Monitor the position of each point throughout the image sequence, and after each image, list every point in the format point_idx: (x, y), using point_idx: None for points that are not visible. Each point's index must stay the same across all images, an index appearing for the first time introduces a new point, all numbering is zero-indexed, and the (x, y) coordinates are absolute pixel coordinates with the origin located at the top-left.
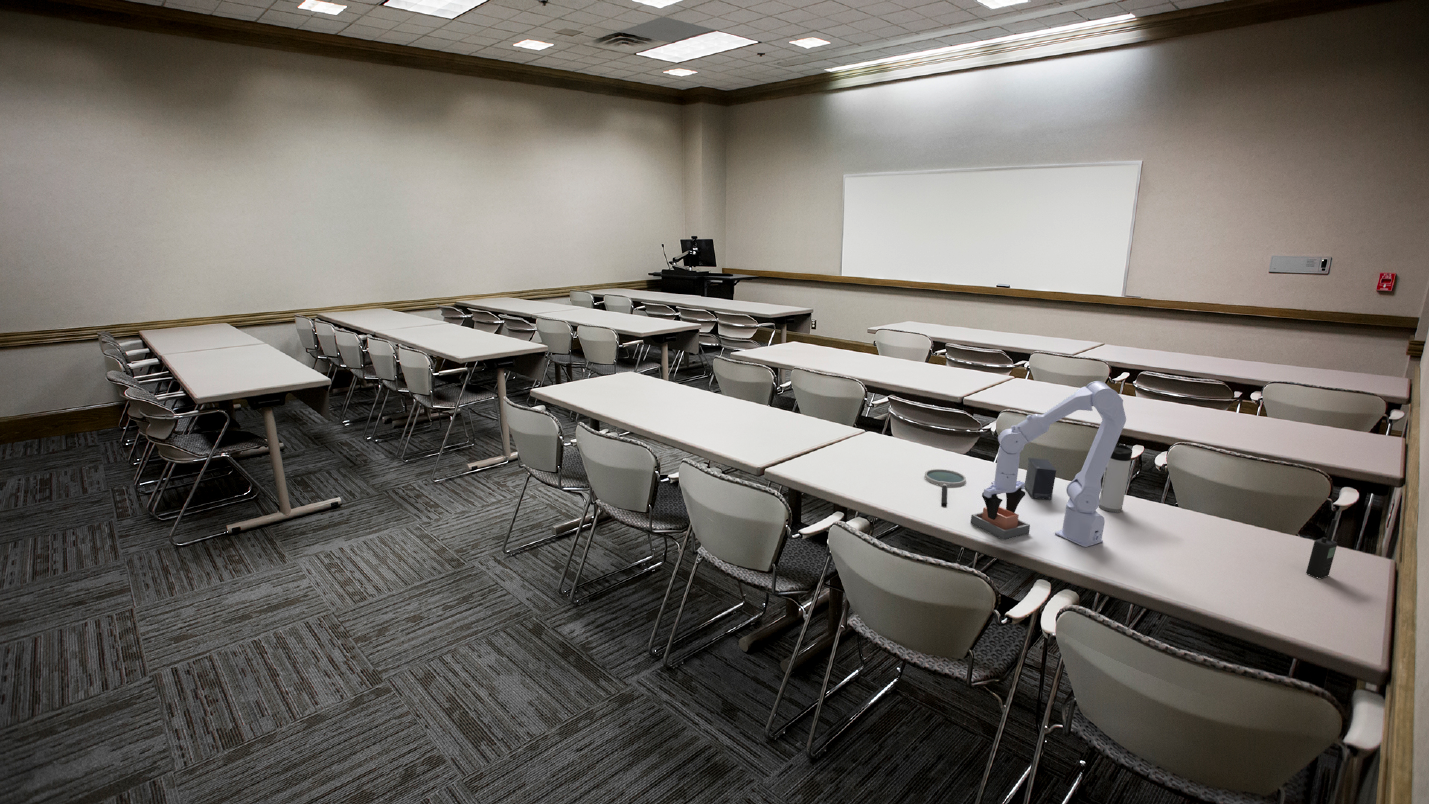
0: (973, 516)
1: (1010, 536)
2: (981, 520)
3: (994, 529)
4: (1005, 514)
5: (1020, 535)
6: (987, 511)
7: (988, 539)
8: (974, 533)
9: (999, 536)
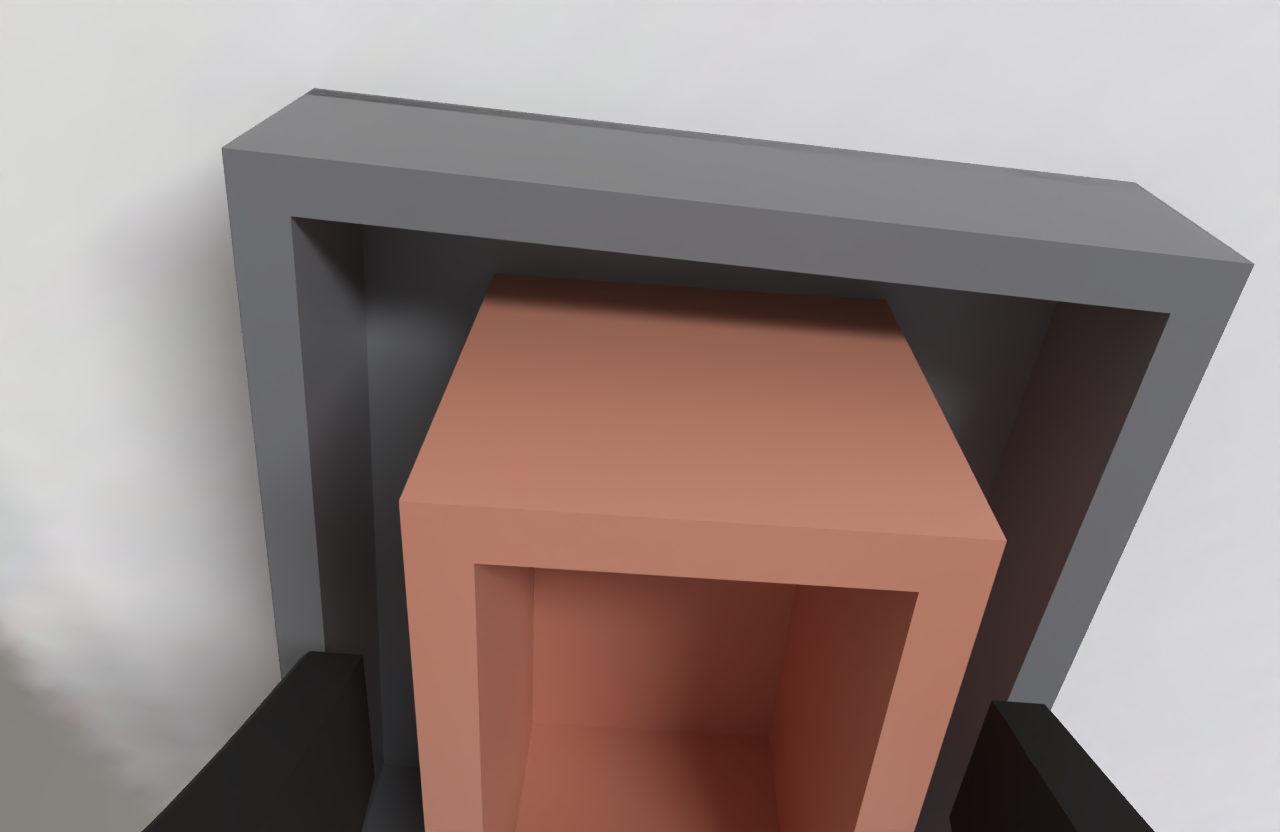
0: (236, 222)
1: None
2: (262, 470)
3: None
4: (827, 757)
5: None
6: (213, 767)
7: (151, 662)
8: (58, 438)
9: None
